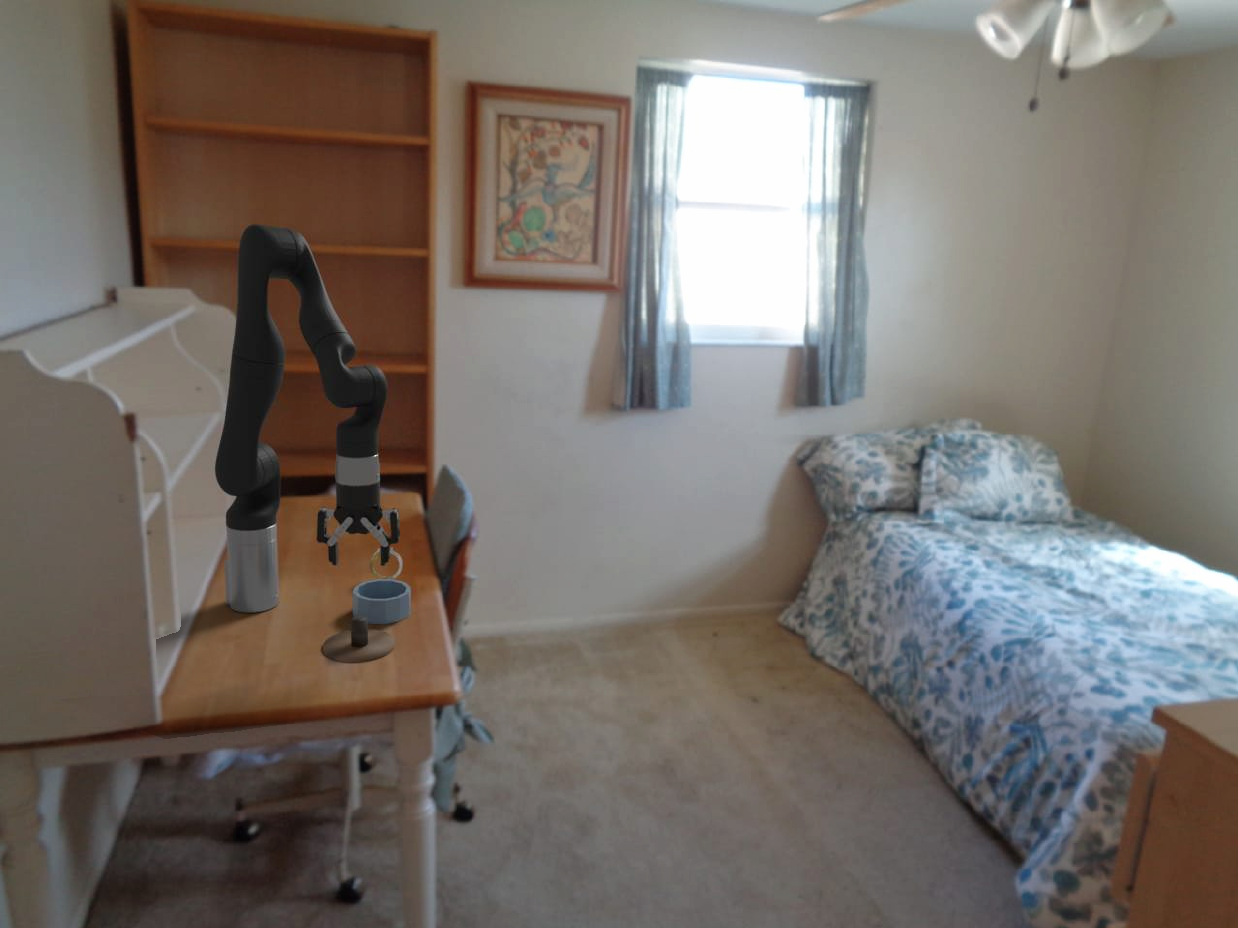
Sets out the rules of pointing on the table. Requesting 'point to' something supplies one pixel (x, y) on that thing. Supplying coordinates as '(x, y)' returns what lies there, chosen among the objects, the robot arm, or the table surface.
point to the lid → (359, 643)
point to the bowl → (382, 601)
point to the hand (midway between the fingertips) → (359, 564)
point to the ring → (380, 556)
